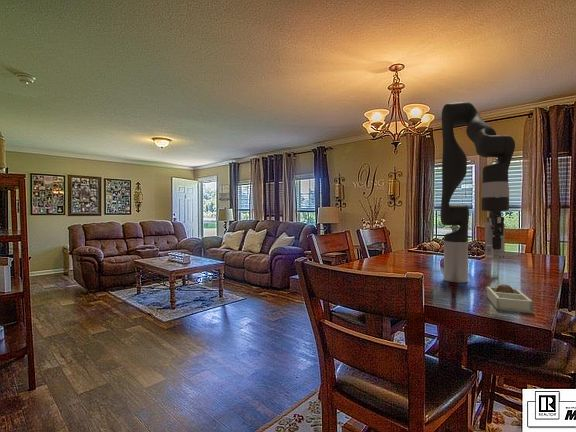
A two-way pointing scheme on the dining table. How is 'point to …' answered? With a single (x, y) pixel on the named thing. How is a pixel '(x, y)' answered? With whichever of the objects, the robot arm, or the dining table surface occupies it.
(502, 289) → the walnut ball
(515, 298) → the caddy
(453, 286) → the dining table surface
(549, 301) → the dining table surface
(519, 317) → the dining table surface
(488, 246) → the energy drink
